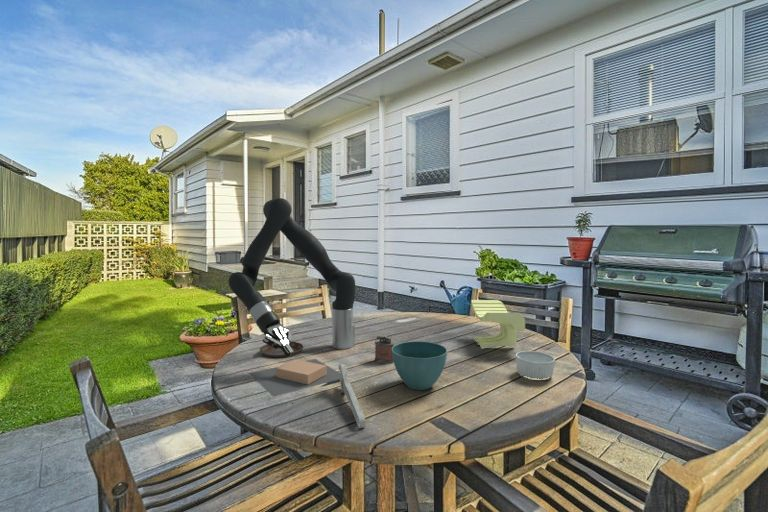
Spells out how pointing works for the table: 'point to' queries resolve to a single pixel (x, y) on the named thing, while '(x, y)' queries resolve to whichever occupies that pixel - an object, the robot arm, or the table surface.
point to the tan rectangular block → (301, 371)
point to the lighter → (384, 349)
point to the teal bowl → (419, 363)
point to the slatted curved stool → (498, 314)
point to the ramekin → (535, 364)
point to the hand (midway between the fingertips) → (290, 354)
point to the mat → (285, 386)
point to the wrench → (351, 397)
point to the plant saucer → (268, 349)
